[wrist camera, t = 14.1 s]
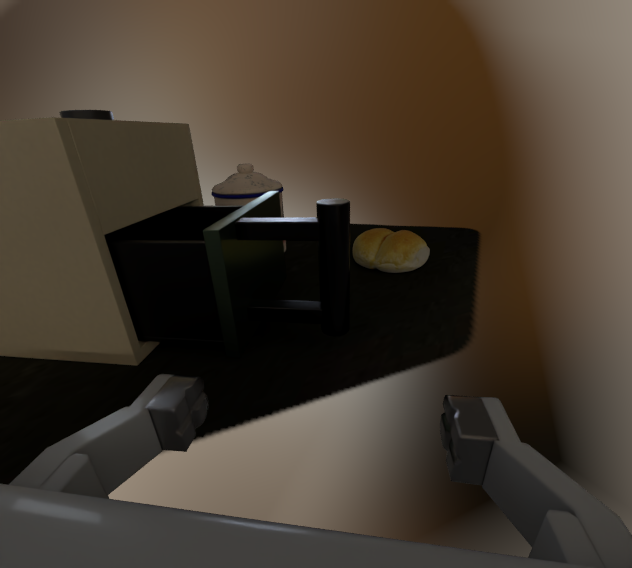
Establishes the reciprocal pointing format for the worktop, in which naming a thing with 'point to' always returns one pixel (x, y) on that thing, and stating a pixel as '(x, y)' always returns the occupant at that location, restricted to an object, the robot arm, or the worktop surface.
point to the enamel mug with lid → (245, 188)
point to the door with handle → (229, 271)
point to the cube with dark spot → (80, 227)
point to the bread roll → (390, 250)
